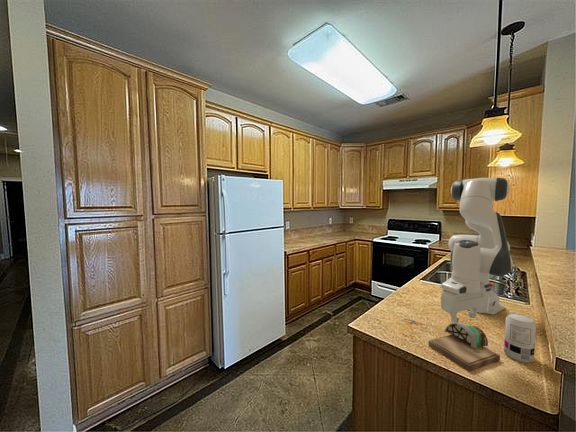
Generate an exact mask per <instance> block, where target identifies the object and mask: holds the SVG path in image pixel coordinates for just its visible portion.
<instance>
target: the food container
mask: <svg viewBox="0 0 576 432" xmlns="http://www.w3.org/2000/svg"><path fill="white" fill-rule="evenodd" d="M444 332H445V333H448V334H449V335H453V336H455V337H456V338H458V339H460V340H462V341H463V342H465V343H467V344H469V345H470V346H471V347H473V348H477V347H481V346H483V347H488V345H489V342H488V337H487V335H486V334H485V332H484V331H483V330H482V329H481V328H480V327H477V326H476V325H467V324H465V323H462V322H460V321H459V322H457V323H454V322H452V323H450V324H449V325H447V326H446V328H445V329H444Z"/></svg>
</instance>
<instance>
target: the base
mask: <svg viewBox="0 0 576 432" xmlns="http://www.w3.org/2000/svg"><path fill="white" fill-rule="evenodd" d="M428 347H430V348H432V349H433V350H434V351H436V352H438V353H440V354H441V355H442V356H444V357H445V358H447V359H448V360H450V361H451V362H454V363H455V364H457V365H458V366H460V367H461V368H463V369H465V370H466V371H468V372H472V371H474V370H477V369H480V368H483V367H486V366H488V365H491V364H494V363H497V362H500V361H501V355H500V354H498V353H497V352H494V351H493V350H491V349H488V348H487V347H486V346H481V347H477V348H473V347H471V346H470V345H469V344H467V343H465V342H463V341H462V340H460V339H458V338H456V337H455V336H453V335H452V334H449V335H444V336H442V337H437V338H434V339H430V340H428Z"/></svg>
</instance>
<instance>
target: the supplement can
mask: <svg viewBox="0 0 576 432" xmlns="http://www.w3.org/2000/svg"><path fill="white" fill-rule="evenodd" d="M504 324H505V326H504V344H503V345H504V346H503V352H504V353H505V354H506V356H507V357H508V358H510V359H513V360H514V361H517V362H521V363H527V364H529V363H533V362H534V361H535V352H536V351H535V349H536V348H535V347H536V333H537V324H536V322H535V320H534V319H533V318H531V317H530V316H527V315H524V314H521V313H513V312H512V313H508V315H507V316H506V317H505V323H504Z"/></svg>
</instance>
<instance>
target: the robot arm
mask: <svg viewBox="0 0 576 432" xmlns="http://www.w3.org/2000/svg"><path fill="white" fill-rule="evenodd" d="M510 191H511V189H510V184H509V181H508V180H507V179H506V178H504V177H478V178H477V177H475V178H468V179H467V178H466V179H457V180H455V181H454V182H453V183H452V185H451V187H450V194H451V197H452V199H453V200H455V201H457V202H458V201H459V213H460V215H461V217H462V218H463V219H464V222H465V223H464V224H465V226H466V227H468V228H469V229H470V230H473V231H475V232H477V233H478V234H479V235H474V234H454V235H452V236H450V238H449V239H448V243H447V245H448V249H449V250H450V264H451V265H452V271H451V276H450V277H449V278H448V279H446V280H445V281H444V282H442V283H441V284H440V285H441V286H440V288H441V289H442V291H441V293H440V294H441V295H440V308H441V309H442V311H444V312H446V313H448V314H449V315H450V317H451V318H450V319H451V320H450V321H451V322H452V323H457V322H459V323H460V321H459V319H460V318H459V317H458V316H457V315H458V312H463V311H469V312H468V317H469V318H471V319H476V318H477V313H478V314H479V313H480V314H488V315H496V314H498V313H500V312H502V311H503V310H505V309H506V306H505V305H504V304H502V303H500V297H499V295H498V294H496V293H495V292H494V291H493V290H492V288H494V287H495V283H494V282H490V276H496V277H500V278H501V277H504V276H506V275H509V274H510V273H512V270H513V267H514V263H513V259H512V255H511V253H510V251H511V245H510V243H509V242H508V239H507V234H506V230H505V226H504V221H503V218H502V215H501V214H500V213H499V212H497V211H496V210H494V203H493V201H495V202H499V201H503V200H505V199H506V198H507V196H508V195H509V194H510Z"/></svg>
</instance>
